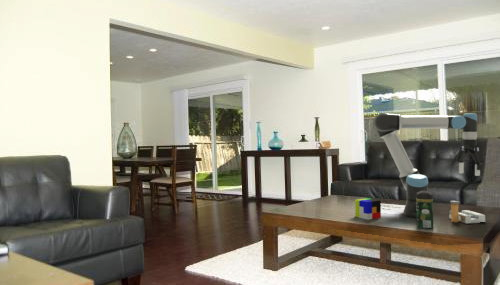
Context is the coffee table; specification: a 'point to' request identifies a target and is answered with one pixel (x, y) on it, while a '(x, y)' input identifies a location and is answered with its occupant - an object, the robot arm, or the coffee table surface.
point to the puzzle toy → (368, 208)
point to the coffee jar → (424, 209)
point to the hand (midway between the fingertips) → (469, 174)
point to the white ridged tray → (469, 217)
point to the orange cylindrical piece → (454, 211)
